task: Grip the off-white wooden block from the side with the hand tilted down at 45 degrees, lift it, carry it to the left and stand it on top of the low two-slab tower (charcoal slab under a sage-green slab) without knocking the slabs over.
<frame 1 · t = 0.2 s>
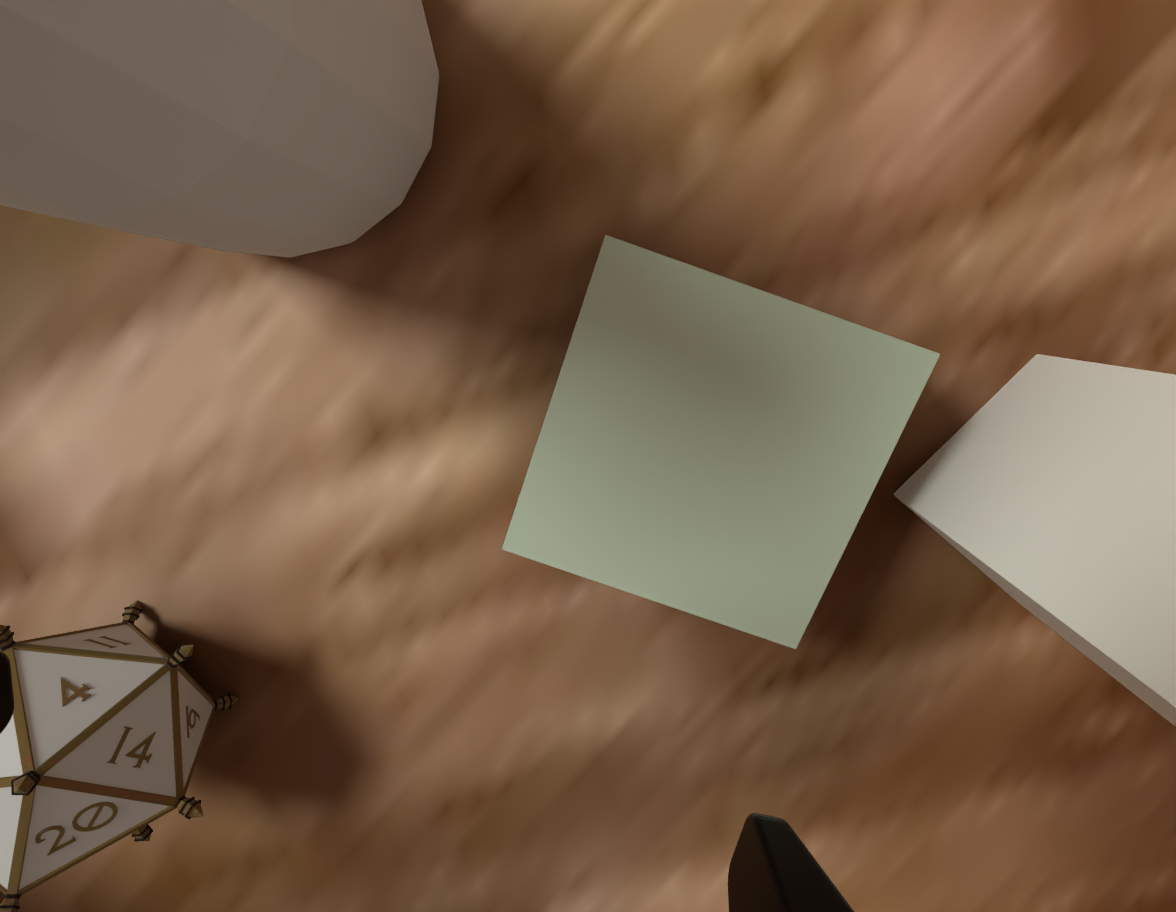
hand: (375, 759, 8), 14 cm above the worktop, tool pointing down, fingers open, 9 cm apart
post: (1026, 484, 21), on the worktop
soap bottle: (291, 90, 19), on the worktop
slab upper: (698, 439, 19), point 2 cm above the worktop, touching slab lower
game die: (167, 668, 25), on the worktop
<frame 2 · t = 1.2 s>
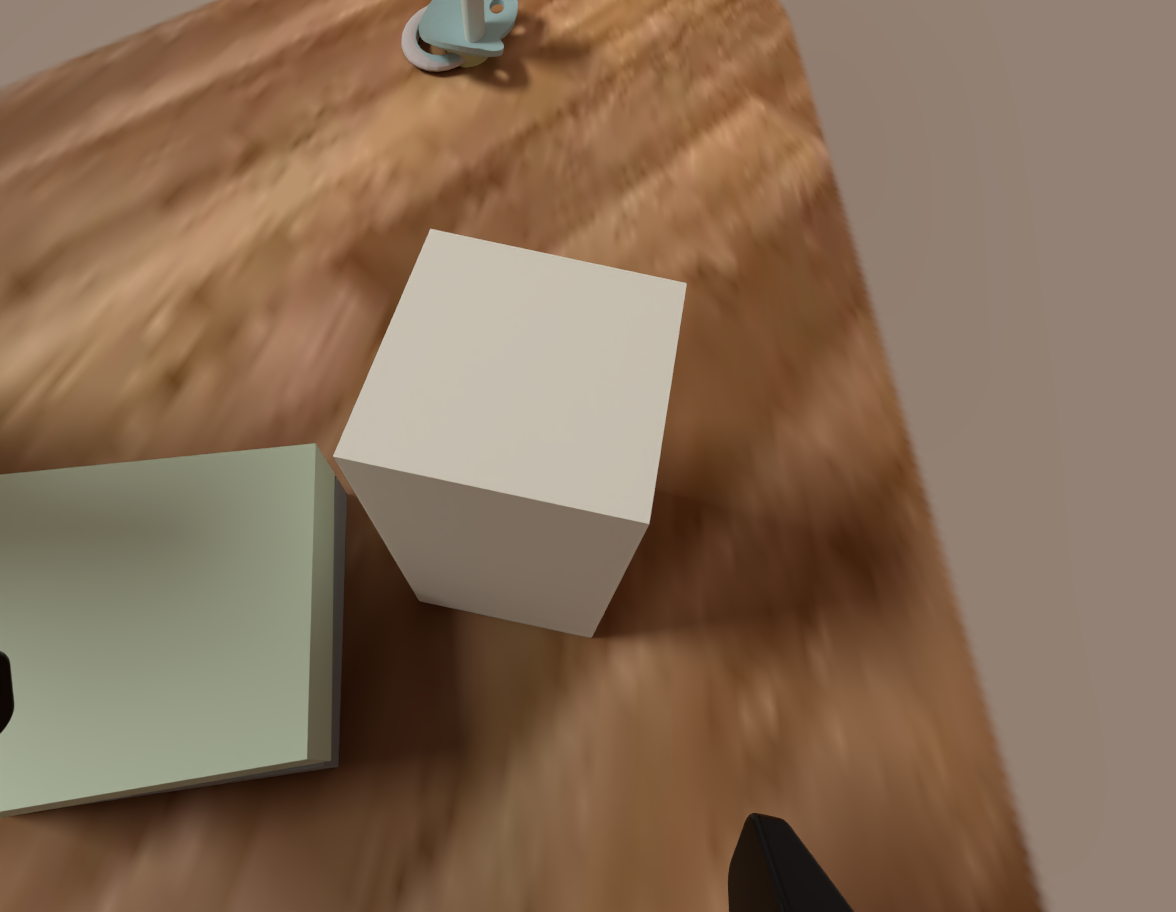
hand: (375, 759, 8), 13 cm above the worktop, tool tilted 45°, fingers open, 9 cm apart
post: (525, 537, 23), on the worktop
slab lower: (207, 638, 21), on the worktop, touching slab upper
pacifier: (459, 50, 36), on the worktop
slab upper: (177, 624, 19), point 1 cm above the worktop, touching slab lower
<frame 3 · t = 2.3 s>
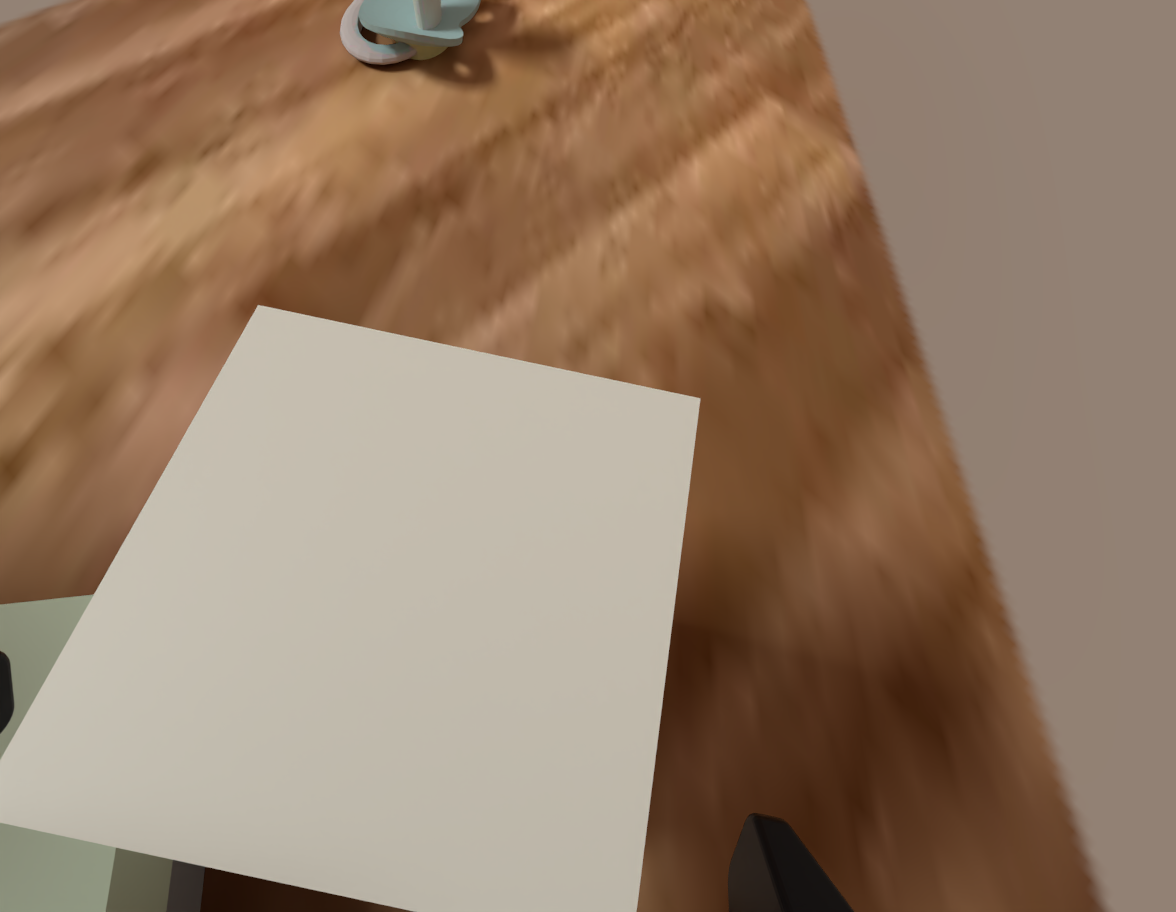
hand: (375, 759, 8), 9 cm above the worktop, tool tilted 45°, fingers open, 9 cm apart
post: (473, 690, 17), on the worktop
slab lower: (13, 854, 15), on the worktop, touching slab upper
pacifier: (411, 40, 30), on the worktop
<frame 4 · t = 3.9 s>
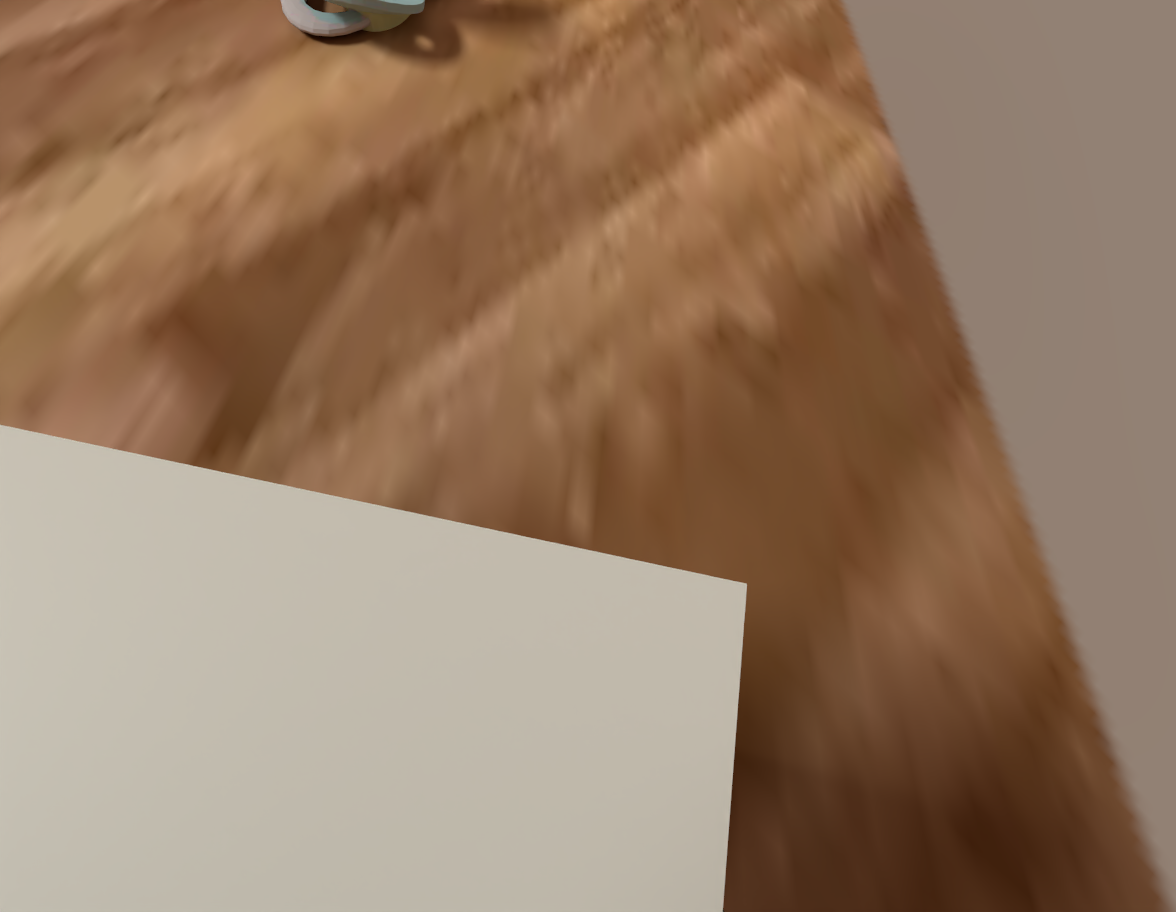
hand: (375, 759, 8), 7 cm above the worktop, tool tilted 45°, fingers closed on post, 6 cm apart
post: (419, 841, 13), on the worktop, touching gripper
pacifier: (367, 10, 26), on the worktop
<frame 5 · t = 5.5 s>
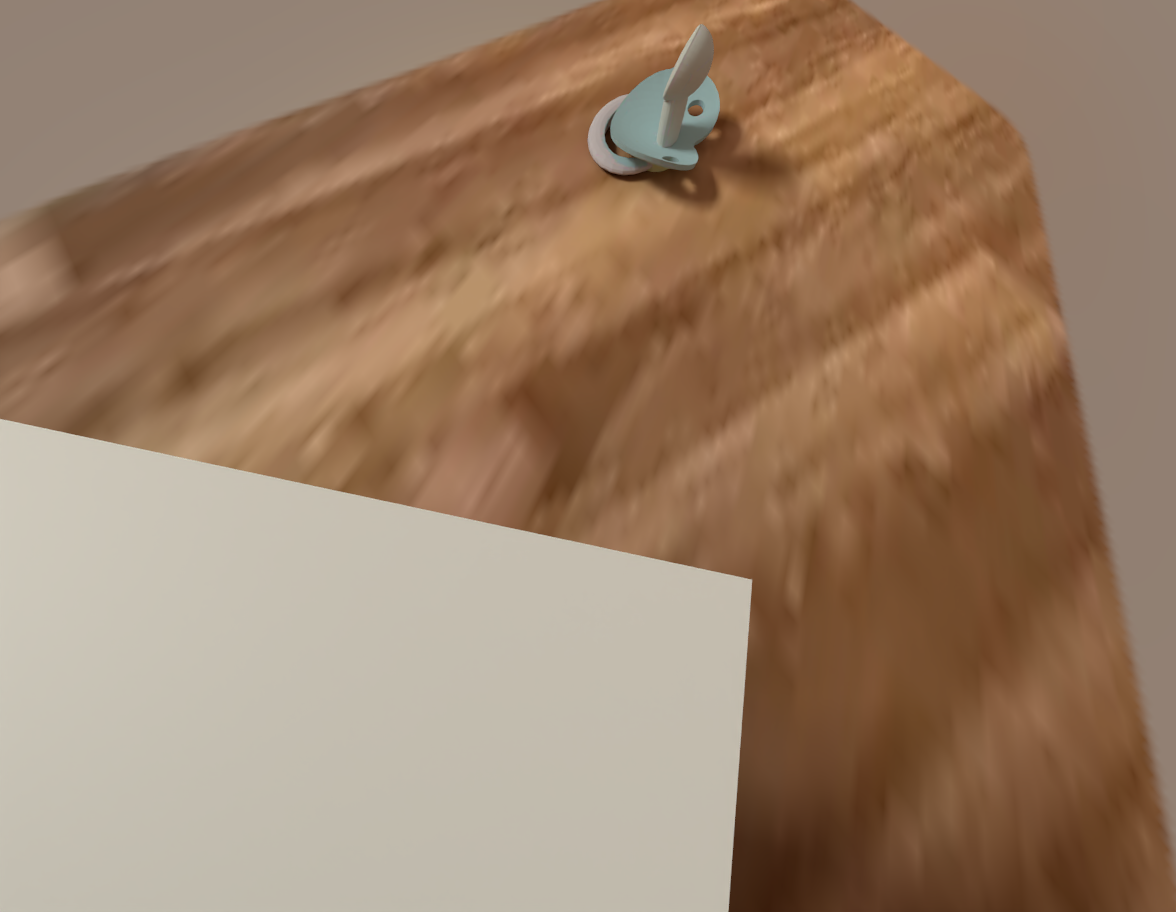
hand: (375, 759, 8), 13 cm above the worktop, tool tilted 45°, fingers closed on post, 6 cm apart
post: (422, 839, 13), point 7 cm above the worktop, touching gripper
pacifier: (645, 149, 33), on the worktop
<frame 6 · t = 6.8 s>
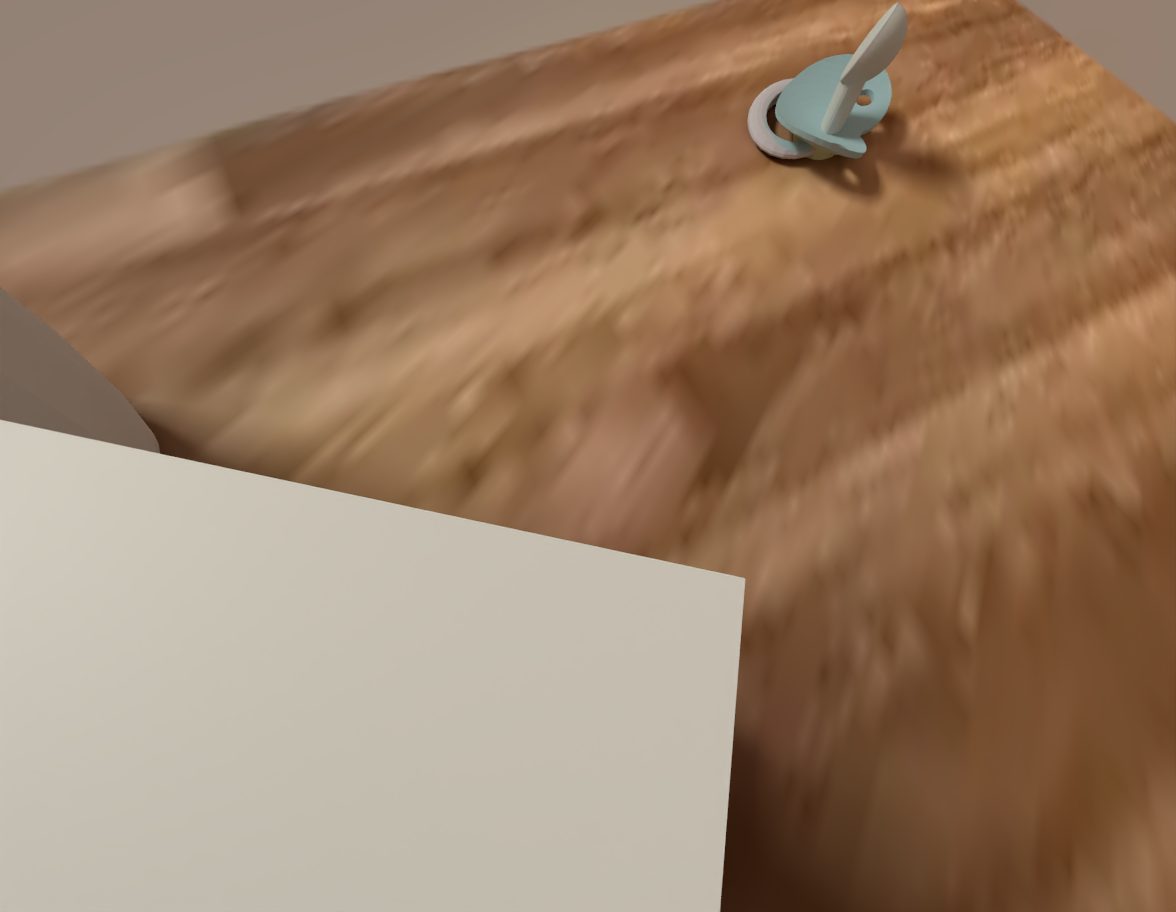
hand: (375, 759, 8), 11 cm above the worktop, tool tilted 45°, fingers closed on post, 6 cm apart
post: (419, 838, 13), point 4 cm above the worktop, touching gripper
soap bottle: (9, 525, 19), on the worktop
pacifier: (804, 136, 31), on the worktop
when the fingers open (11 cm above the worktop, at t = 7.0 s): post stays where it is, resting on slab upper.
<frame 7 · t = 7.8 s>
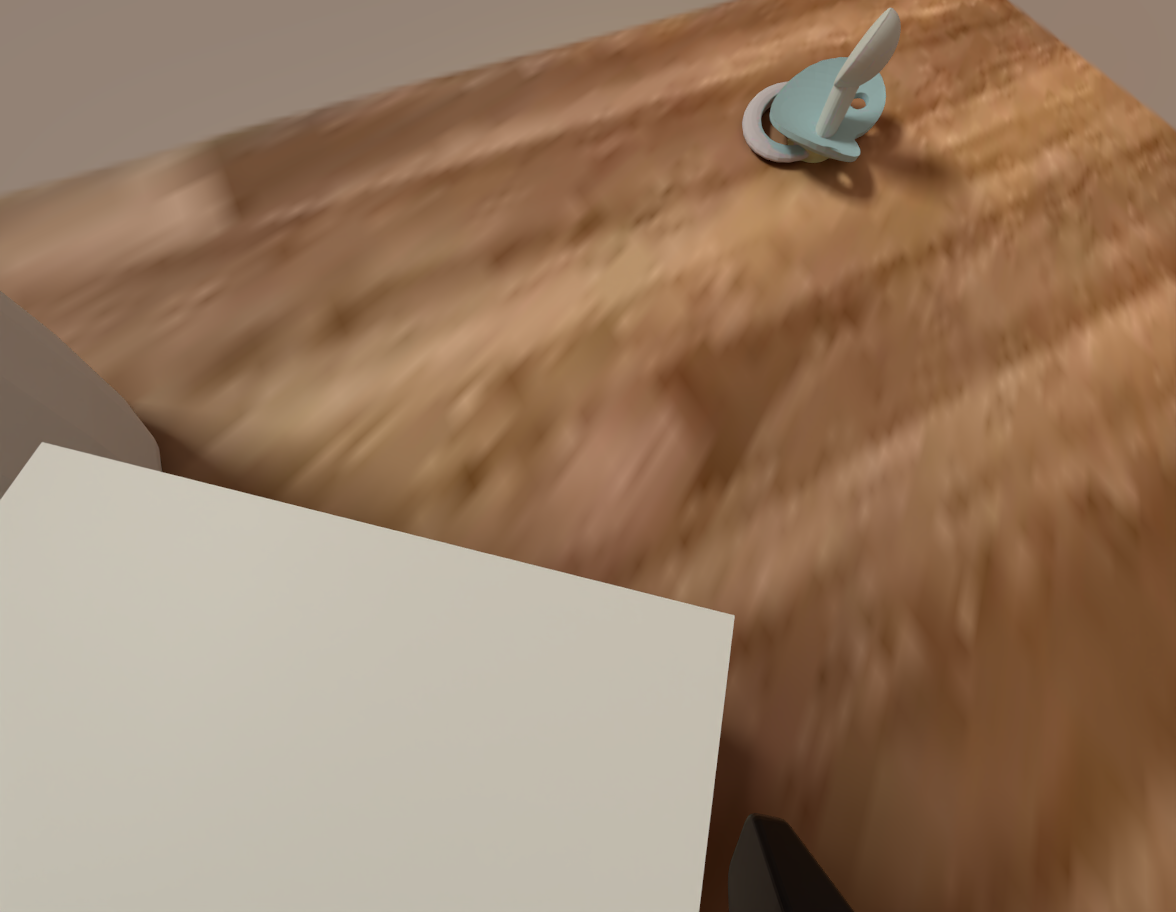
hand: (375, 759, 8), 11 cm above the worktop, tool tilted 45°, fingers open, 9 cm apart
post: (434, 826, 14), point 4 cm above the worktop, touching slab upper
soap bottle: (9, 528, 19), on the worktop
pacifier: (799, 139, 32), on the worktop
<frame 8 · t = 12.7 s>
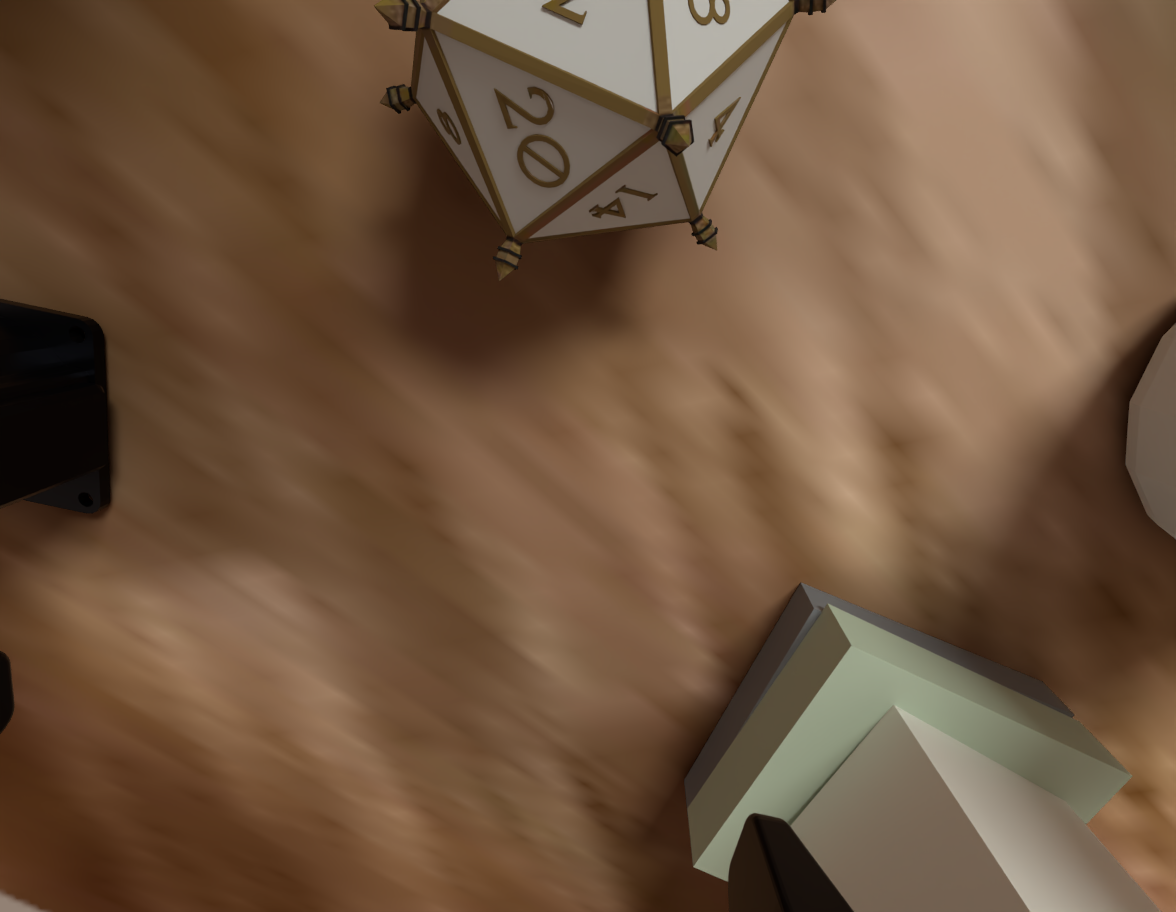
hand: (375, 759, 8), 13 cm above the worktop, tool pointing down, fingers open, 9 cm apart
post: (913, 826, 18), point 4 cm above the worktop, touching slab upper
slab lower: (848, 721, 23), on the worktop, touching slab upper
slab upper: (873, 767, 21), point 2 cm above the worktop, touching post, slab lower
game die: (598, 100, 17), on the worktop
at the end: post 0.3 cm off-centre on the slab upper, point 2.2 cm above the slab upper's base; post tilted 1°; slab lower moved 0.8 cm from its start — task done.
